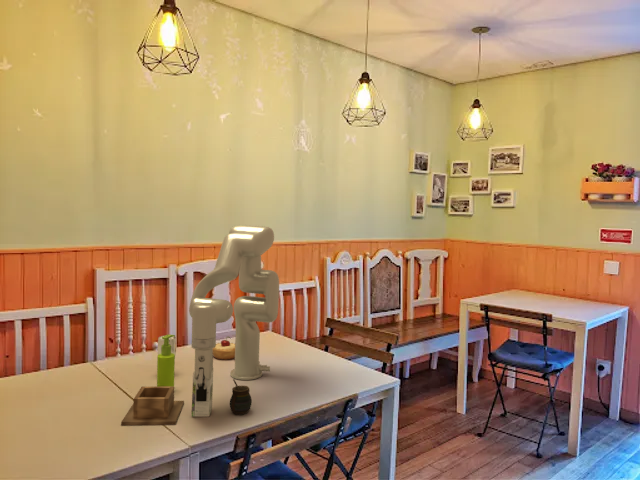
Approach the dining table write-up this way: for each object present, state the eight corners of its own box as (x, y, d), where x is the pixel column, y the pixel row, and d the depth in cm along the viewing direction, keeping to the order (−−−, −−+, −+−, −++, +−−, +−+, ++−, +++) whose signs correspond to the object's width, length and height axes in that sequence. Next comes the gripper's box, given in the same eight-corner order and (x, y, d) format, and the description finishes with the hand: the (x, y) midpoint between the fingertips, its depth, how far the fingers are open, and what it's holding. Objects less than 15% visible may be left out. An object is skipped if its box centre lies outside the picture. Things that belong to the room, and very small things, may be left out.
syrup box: (194, 409, 162) (195, 366, 161) (212, 409, 163) (213, 366, 162) (191, 417, 157) (192, 372, 156) (210, 417, 157) (211, 372, 156)
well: (183, 403, 167) (184, 383, 166) (175, 424, 151) (176, 402, 151) (134, 403, 165) (135, 383, 165) (121, 425, 149) (121, 402, 149)
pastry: (206, 359, 216) (206, 339, 216) (221, 351, 227) (221, 332, 227) (230, 362, 212) (229, 342, 211) (244, 354, 223) (244, 335, 222)
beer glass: (178, 372, 197) (179, 335, 196) (171, 378, 190) (172, 340, 189) (161, 371, 197) (162, 334, 196) (154, 377, 190) (154, 339, 189)
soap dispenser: (179, 388, 180) (180, 334, 179) (167, 395, 174) (168, 339, 172) (165, 385, 182) (166, 332, 181) (153, 392, 176) (154, 337, 174)
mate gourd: (241, 418, 157) (242, 387, 157) (223, 412, 161) (224, 382, 161) (256, 410, 163) (256, 381, 163) (238, 405, 167) (239, 376, 167)
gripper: (213, 350, 150) (211, 407, 151) (218, 335, 167) (216, 387, 168) (187, 349, 149) (186, 408, 151) (195, 334, 166) (194, 387, 168)
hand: (202, 396), depth 159 cm, fingers closed on syrup box, 5 cm apart
